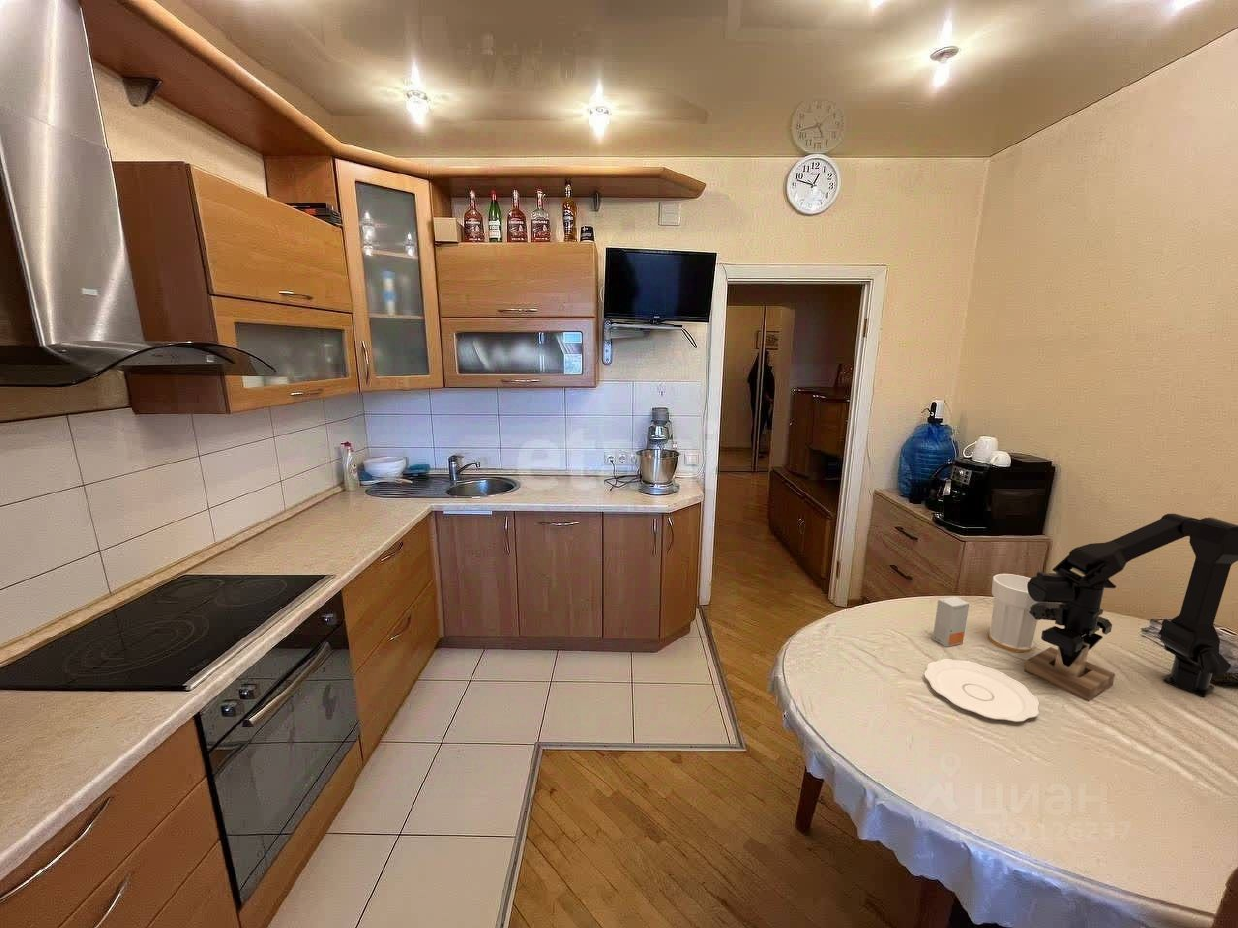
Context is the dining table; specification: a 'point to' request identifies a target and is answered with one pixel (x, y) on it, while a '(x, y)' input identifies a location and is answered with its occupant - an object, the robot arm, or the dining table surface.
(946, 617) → the skincare box
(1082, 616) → the robot arm
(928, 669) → the plate
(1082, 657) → the maple peg
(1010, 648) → the cup
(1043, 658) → the socket block
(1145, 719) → the dining table surface
